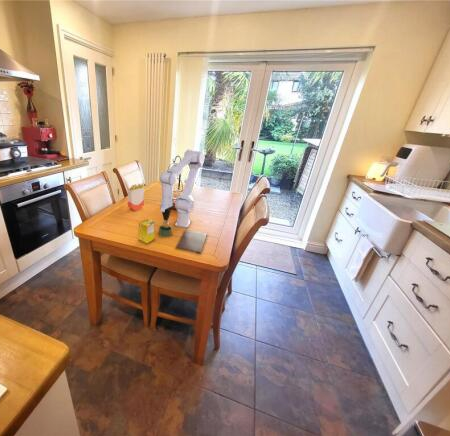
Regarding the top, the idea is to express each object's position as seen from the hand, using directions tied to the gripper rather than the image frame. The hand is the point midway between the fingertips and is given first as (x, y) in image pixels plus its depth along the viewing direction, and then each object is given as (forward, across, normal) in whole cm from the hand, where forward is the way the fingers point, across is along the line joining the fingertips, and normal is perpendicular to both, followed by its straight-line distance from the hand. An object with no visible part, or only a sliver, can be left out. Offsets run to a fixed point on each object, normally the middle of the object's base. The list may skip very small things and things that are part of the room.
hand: (166, 219), depth 126 cm
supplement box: (+10, +10, -7) cm, 16 cm away
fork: (+5, 0, 0) cm, 5 cm away
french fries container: (+10, -27, -30) cm, 42 cm away
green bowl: (+9, 0, 0) cm, 9 cm away
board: (+9, +2, +16) cm, 18 cm away
